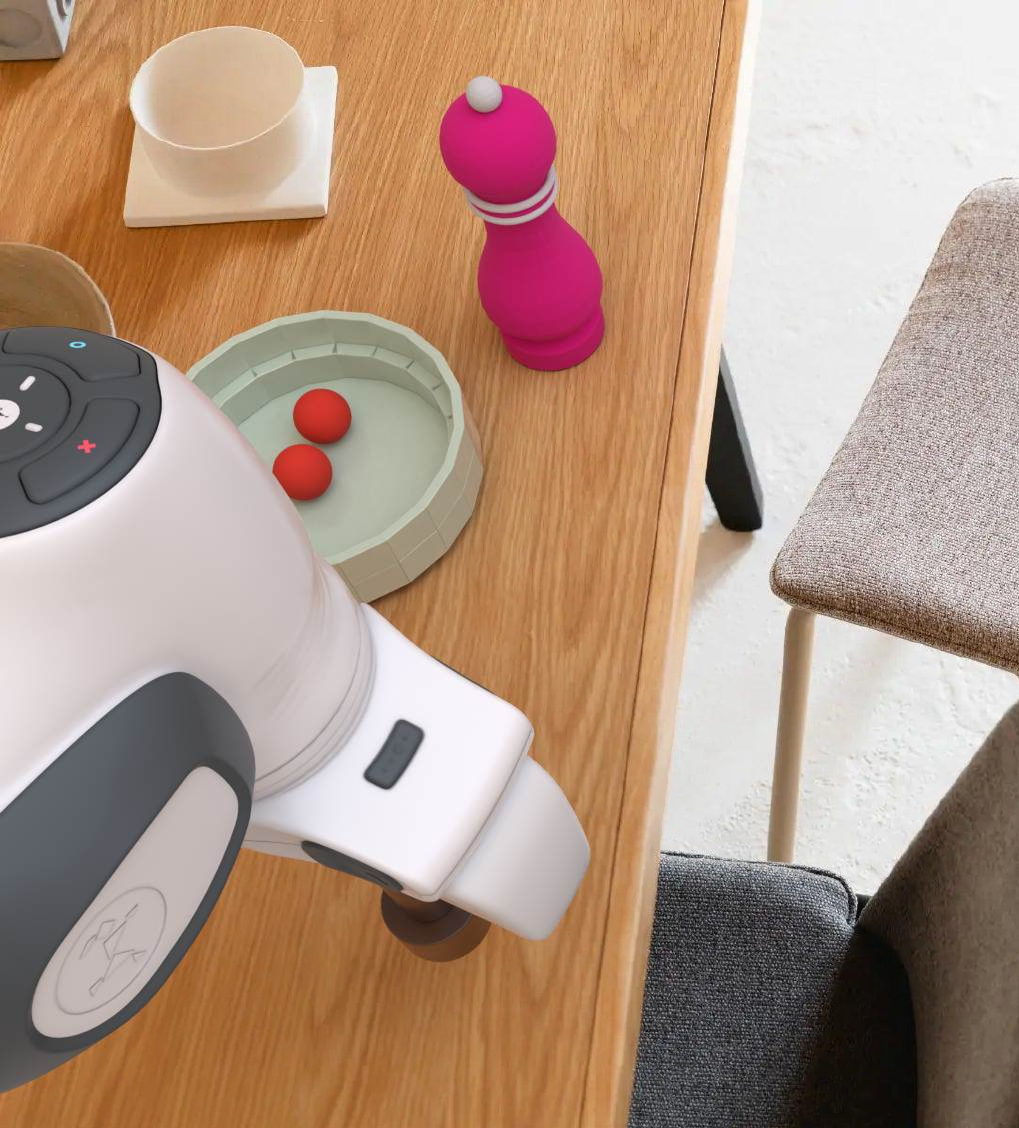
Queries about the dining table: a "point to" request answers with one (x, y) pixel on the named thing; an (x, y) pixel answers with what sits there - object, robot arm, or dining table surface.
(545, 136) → the pepper mill
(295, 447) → the ball
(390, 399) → the bowl
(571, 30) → the dining table surface
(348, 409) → the ball
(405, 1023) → the dining table surface
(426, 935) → the muddler
